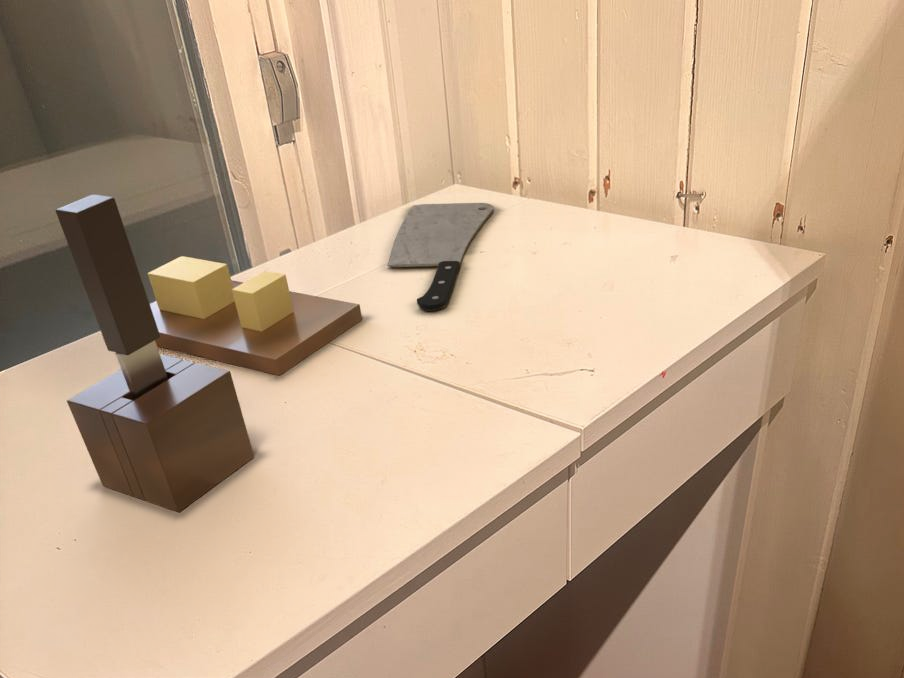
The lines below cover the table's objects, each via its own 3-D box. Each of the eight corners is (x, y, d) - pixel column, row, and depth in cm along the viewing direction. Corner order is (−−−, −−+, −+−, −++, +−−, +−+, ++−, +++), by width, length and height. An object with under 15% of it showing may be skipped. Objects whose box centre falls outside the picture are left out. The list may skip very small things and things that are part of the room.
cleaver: (348, 312, 87) (451, 310, 85) (347, 306, 86) (450, 305, 85) (413, 207, 108) (496, 204, 106) (412, 203, 107) (496, 200, 106)
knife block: (102, 486, 67) (65, 400, 63) (179, 434, 72) (151, 351, 67) (179, 512, 64) (146, 424, 59) (254, 456, 69) (230, 370, 64)
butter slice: (241, 327, 83) (231, 289, 80) (273, 308, 85) (264, 270, 83) (262, 332, 82) (252, 293, 79) (294, 312, 84) (285, 274, 82)
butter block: (159, 309, 87) (147, 273, 85) (192, 291, 90) (181, 255, 88) (204, 319, 85) (193, 282, 82) (237, 300, 87) (227, 263, 85)
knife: (155, 478, 68) (54, 209, 55) (184, 458, 70) (92, 193, 57) (174, 484, 67) (76, 213, 54) (203, 464, 69) (114, 196, 56)
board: (120, 337, 87) (115, 322, 86) (208, 289, 94) (204, 274, 93) (279, 375, 78) (275, 359, 77) (362, 319, 86) (359, 304, 85)
